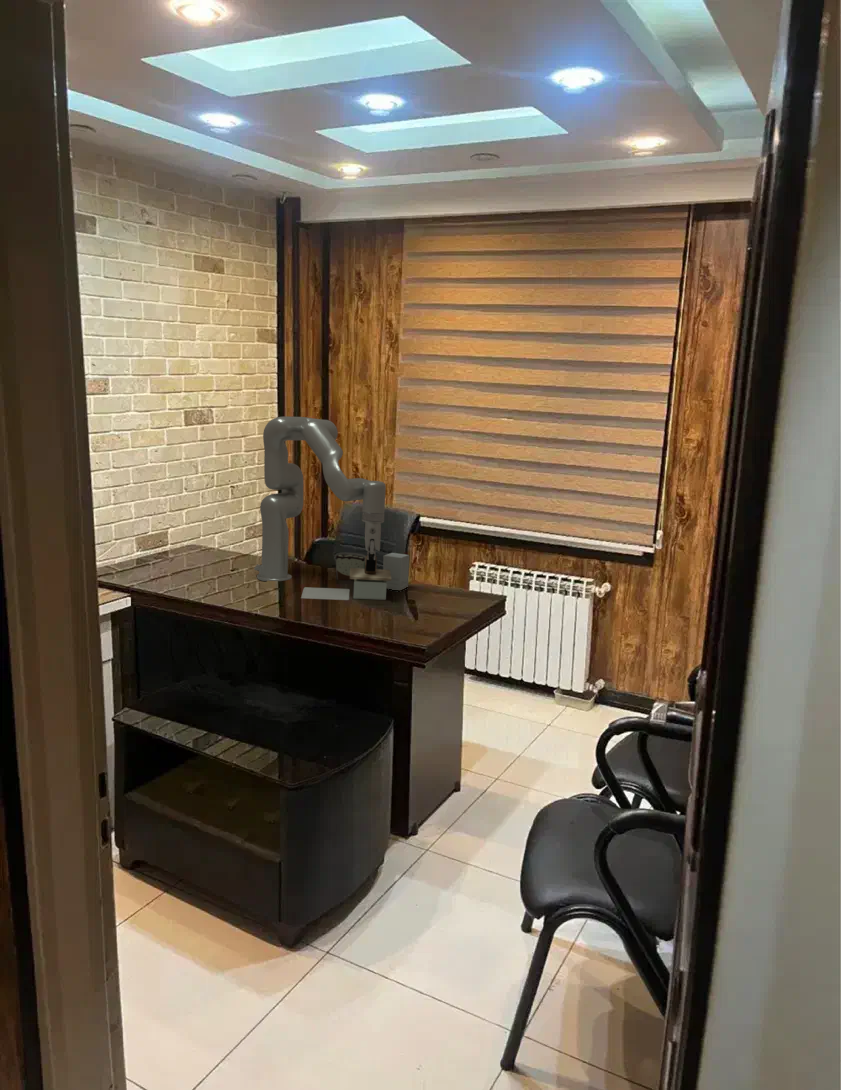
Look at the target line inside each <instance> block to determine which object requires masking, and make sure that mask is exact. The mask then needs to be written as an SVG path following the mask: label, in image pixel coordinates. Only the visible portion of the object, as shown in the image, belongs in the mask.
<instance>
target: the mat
mask: <svg viewBox="0 0 841 1090" xmlns="http://www.w3.org/2000/svg"><path fill="white" fill-rule="evenodd" d="M300 599H308V600H309V599H311V600H312V599H313V600H336V601H350V588H333V587H310V586H309V587H306V586H305V587H304V588H303V590H302V594H301V597H300Z"/></svg>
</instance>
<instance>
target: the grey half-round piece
mask: <svg viewBox="0 0 841 1090" xmlns="http://www.w3.org/2000/svg"><path fill="white" fill-rule="evenodd" d="M365 556H366V555H365V554H363V553H360V552H359V553H358V552H357V553H356V552H338V553H336V554H335V555H334V558H333V560H334V561H335V570H336V581H348V580H354V579H350V568H360V569H365Z"/></svg>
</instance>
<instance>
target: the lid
mask: <svg viewBox="0 0 841 1090" xmlns="http://www.w3.org/2000/svg"><path fill="white" fill-rule="evenodd" d="M366 559H367V554H366V555H365V565H364V569H360V568H350V579H362V580H386V581H391V574H390V570H383V568H382V569H380V568H379V569H378V568H377V567H378V565H377V561H378V556H377V555H375V560H376V567H375V571H366Z"/></svg>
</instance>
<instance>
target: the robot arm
mask: <svg viewBox="0 0 841 1090" xmlns="http://www.w3.org/2000/svg"><path fill="white" fill-rule="evenodd" d="M338 434H339V433H338V427H337V426H336V425H335V424H334V422H332V421H331V420H329V419H322V418H321V419H319V418H312V417H306V416H287V415H286V416H278V417H274V418H272V419H271V420H269V421H268V422H267V424H265V427H264V428H263V435H262V437H263V449H264V450H263V452H264V456H263V457H264V458H263V459H264V460H263V465H264V466H263V467H264V468H263V469H264V472H263V473H264V475H263V476H264V477H263V478H264V484H265V486H266V488H268V489H269V490H273V491H280V490H281V492H277V493H271V494H268V495H266V496H265V497H264V498H262V500H261V502H260V506H259V507H260V508H259V509H260V517H261V526H262V531H261V532H262V535H261V536H262V538H261V539H262V541H261V564H256V565H255V566H254V568H253V570H254V571H258V574H257V575H256V578H257V579H258V580H259V581H262V582H282V581H283V582H284V581H289V580H291V579H292V577H293V576H292V575H291V574H290V573H288V570H289V566H288V565H289V535H290V534H289V527H288V523H287V521H286V519H291V518H295V517H298V516H299V515H300V514H301V512H302V510H303V508H304V474H303V471H302V470H301V468H300V467H299V466H298V465H297V464H295V463H293V462H289V450H288V447H287V444H286V443H285V442H286V441H305V442H306V443H307V445H308V447H309V448H310V449H311V451H312V452H313V453H314V454H315V456H316V457H317V459H318V460H319V461H320V463H321V465H322V473H323V477H324V480H325V483H326V484H327V486H328V488H330V490H331V492H332V493H333V494H334V495H335V497H336V498H338V499H339V500H341V501H342V502H353V501H362V510H361V511H362V513H361V515H362V516H361V521H362V522H363V523H364V524H365V525H364V526H365V527H364V546H365V547H364V548H365V551H367V552H366V553H367V554H366V555H367V559H366V571H375V567H376V568H377V566H376V560H375V556H376V551H377V552H380V551H381V550H380V549H381V536H382V535H381V532H382V524H383V523H384V522H385V504H386V490H387V489H386V488H387V487H386V486H387V485H386V483H385V482H383V481H380V480H368V479H366V478H362V477H356V478H354V477H353V478H347V476H346V475H345V474H344V472H343V471H342V469H341V468H340V464H339V460H341V458H342V457H343V455H344V452H343V448H342V447H341V446H340V445H339V443H338V442H337V441H336V439H337V438H338Z"/></svg>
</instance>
